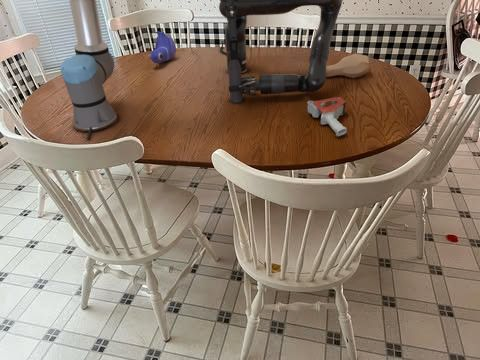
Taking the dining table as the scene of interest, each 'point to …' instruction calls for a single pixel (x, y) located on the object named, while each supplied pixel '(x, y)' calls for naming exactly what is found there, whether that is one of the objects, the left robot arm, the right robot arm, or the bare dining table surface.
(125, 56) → the dining table surface
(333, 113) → the tape dispenser
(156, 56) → the toy
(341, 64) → the squash
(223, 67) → the dining table surface
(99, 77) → the left robot arm
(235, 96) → the bottle
